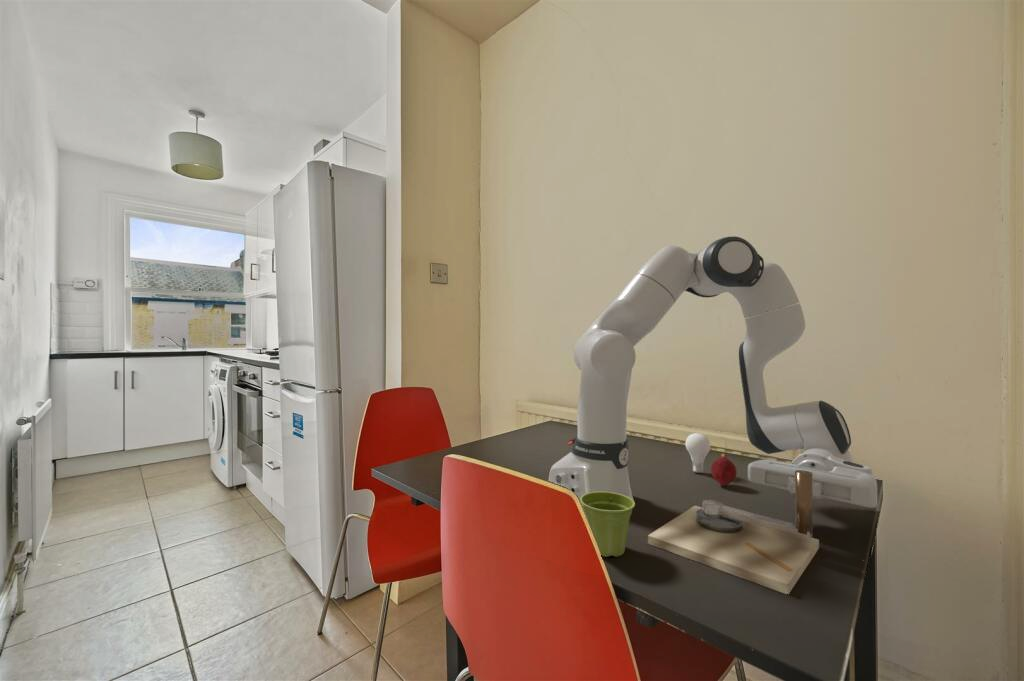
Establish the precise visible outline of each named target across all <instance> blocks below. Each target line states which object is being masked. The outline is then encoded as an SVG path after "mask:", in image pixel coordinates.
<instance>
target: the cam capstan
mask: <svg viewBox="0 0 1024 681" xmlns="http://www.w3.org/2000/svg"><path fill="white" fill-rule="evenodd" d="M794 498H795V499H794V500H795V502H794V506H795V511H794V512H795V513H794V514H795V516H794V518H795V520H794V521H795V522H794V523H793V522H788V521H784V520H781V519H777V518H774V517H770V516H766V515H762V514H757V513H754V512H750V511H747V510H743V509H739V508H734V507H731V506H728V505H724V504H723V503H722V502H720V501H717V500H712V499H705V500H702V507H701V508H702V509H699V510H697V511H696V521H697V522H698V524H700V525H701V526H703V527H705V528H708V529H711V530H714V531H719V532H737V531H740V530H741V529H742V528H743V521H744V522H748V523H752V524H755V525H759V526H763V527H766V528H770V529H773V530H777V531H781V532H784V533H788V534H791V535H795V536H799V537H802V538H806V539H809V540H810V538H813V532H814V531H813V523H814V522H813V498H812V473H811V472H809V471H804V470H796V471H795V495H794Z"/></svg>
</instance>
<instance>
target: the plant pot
mask: <svg viewBox="0 0 1024 681" xmlns="http://www.w3.org/2000/svg"><path fill="white" fill-rule="evenodd" d="M580 502H581V504H582V505H583V509H584V511H583V512H584V515H586V517H585V519H586V518H587V520H588V523H589V525H590V527H591V530H592V532H593V535H594V537H595V539H596V542H597V544H598V546H599V549H600V552H601V555H602V556H601V557H606V558H608V557H611V556H613V557H615V558H616V557H620V556H622V555H624V553H625V551H626V545H627V539H628V532H629V527H630V526H629V525H630V520H631V519H630V518H631V516H632V513H633V509H634V508H635V506H636V502H635V500H634V501H633V500H632V499H631V498H629V497H627V496H625V495H622V494H618V493H613V492H590V493H586V494H584V495H582V496H581V498H580Z"/></svg>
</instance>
